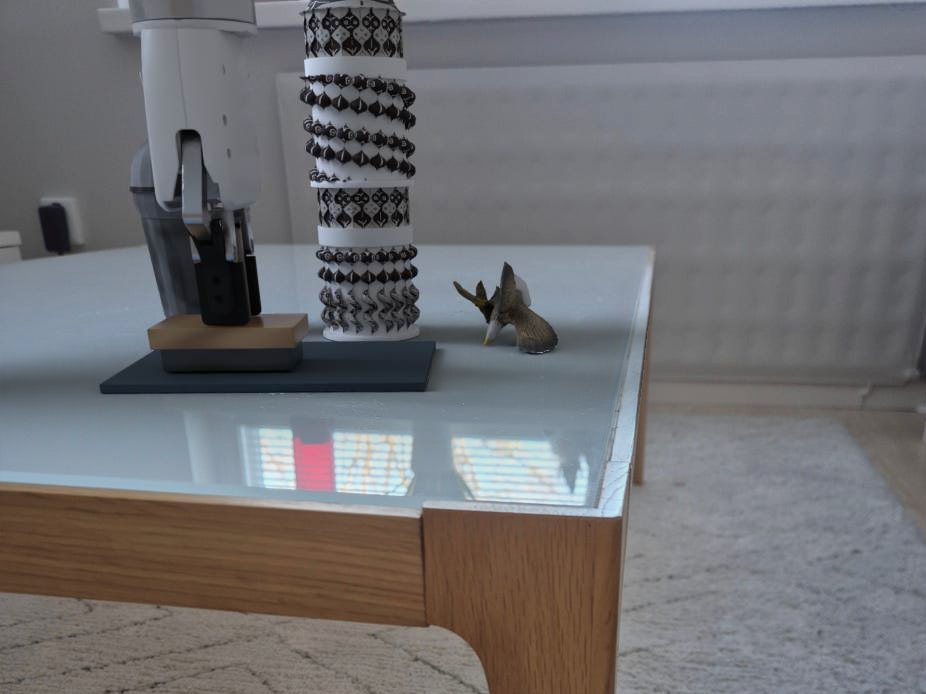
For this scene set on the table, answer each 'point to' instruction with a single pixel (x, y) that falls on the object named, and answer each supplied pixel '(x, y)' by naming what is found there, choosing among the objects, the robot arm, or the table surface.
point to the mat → (295, 371)
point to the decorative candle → (361, 167)
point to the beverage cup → (164, 240)
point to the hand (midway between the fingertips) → (233, 317)
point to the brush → (230, 340)
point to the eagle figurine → (512, 312)
